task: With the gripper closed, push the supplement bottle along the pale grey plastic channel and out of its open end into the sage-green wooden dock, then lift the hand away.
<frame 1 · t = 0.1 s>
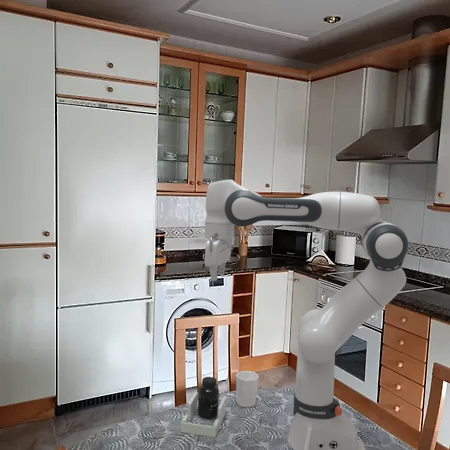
hand: (217, 277, 132), 48 cm above the table, tool pointing down, fingers open, 8 cm apart
channel: (206, 416, 143), on the table
dock: (200, 429, 135), on the table
supplement bottle: (207, 415, 144), on the table
white cup: (246, 403, 153), on the table
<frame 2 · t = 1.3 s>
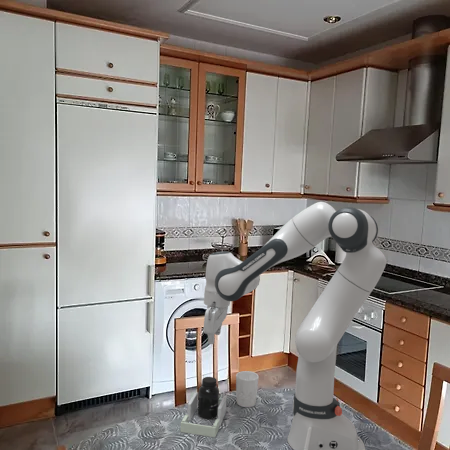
hand: (214, 338, 147), 24 cm above the table, tool pointing down, fingers open, 8 cm apart
nothing on the table moved.
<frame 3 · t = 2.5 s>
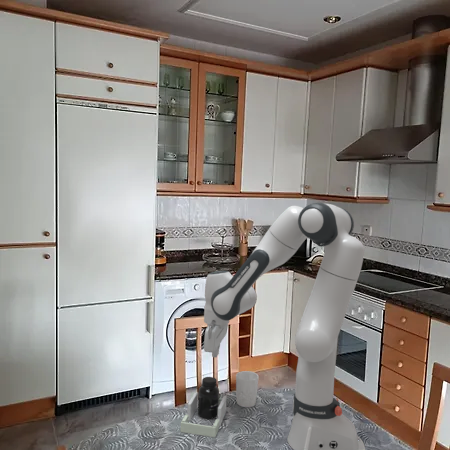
hand: (215, 355, 151), 17 cm above the table, tool pointing down, fingers closed
nothing on the table moved.
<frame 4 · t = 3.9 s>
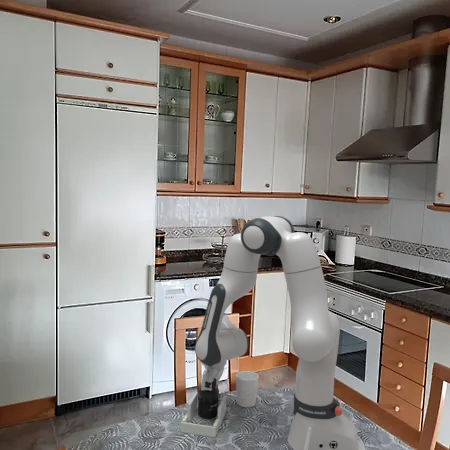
hand: (212, 396, 152), 2 cm above the table, tool pointing down, fingers closed
nothing on the table moved.
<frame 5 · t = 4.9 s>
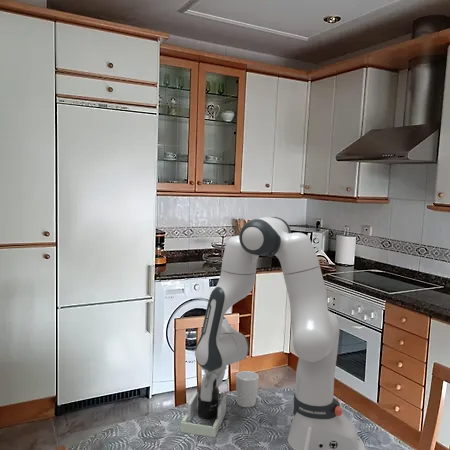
hand: (212, 401, 150), 2 cm above the table, tool pointing down, fingers closed
supplement bottle: (207, 415, 144), on the table, touching gripper
everything else where it was.
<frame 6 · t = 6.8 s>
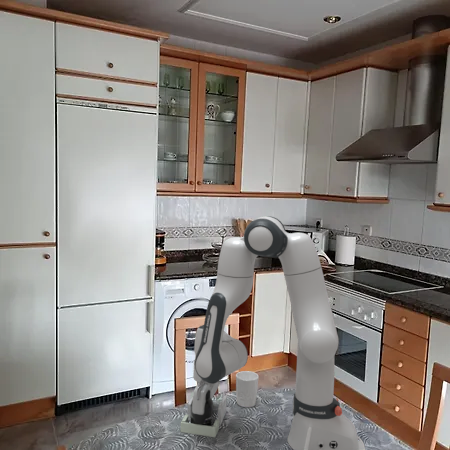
hand: (205, 413, 141), 2 cm above the table, tool pointing down, fingers closed
supplement bottle: (201, 428, 136), on the table, touching dock, gripper
everything else where it was.
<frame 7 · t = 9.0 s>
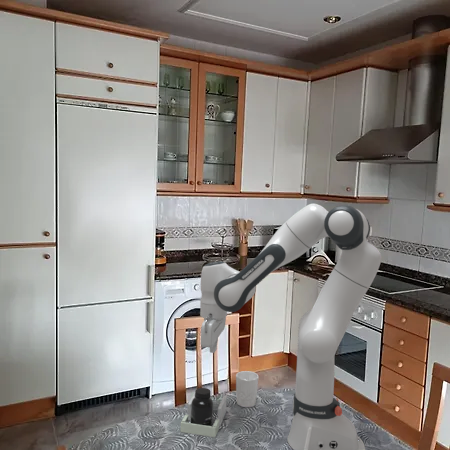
hand: (213, 351, 144), 21 cm above the table, tool pointing down, fingers closed
supplement bottle: (201, 428, 136), on the table
everything else where it was.
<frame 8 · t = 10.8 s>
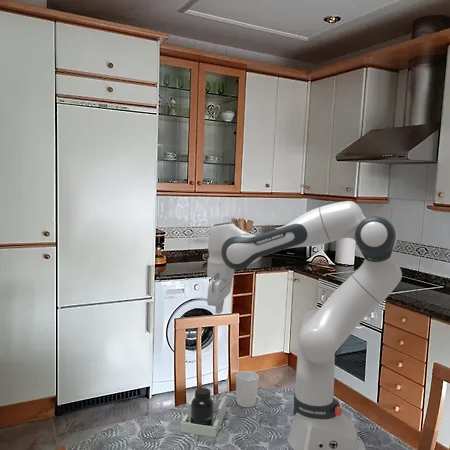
hand: (219, 312, 144), 34 cm above the table, tool pointing down, fingers closed
nothing on the table moved.
at the end: supplement bottle 0.3 cm from the target spot, on the table; supplement bottle tilted 0° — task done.
